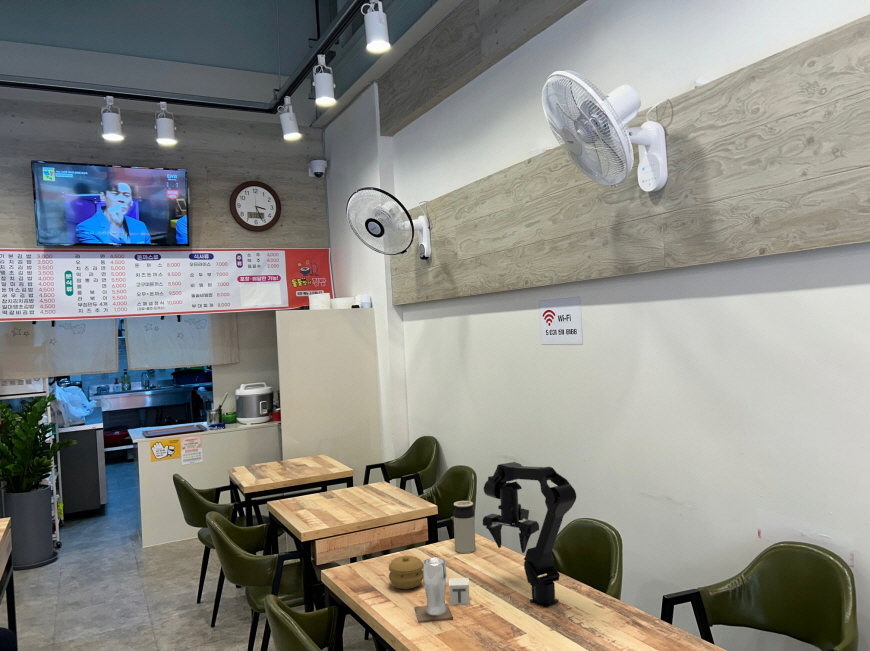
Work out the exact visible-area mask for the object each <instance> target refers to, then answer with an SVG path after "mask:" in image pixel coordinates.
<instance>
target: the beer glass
mask: <svg viewBox="0 0 870 651" xmlns="http://www.w3.org/2000/svg"><path fill="white" fill-rule="evenodd" d="M422 562H423V569H422V571H423V580H422V581H423V585H424V591H425V595H426V606H427V608H426V613H427V615H429V616H442V615H444V614H446V612H447V610H446V605H445V604H446V598H445V597H446V590H447V580H448V579H447V578H448V576H447V574H448V573H447V566H446V565H447V564H446V559H444V558H441V557H428V558H426V559H424V560H423V561H422Z"/></svg>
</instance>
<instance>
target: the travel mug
mask: <svg viewBox="0 0 870 651" xmlns="http://www.w3.org/2000/svg"><path fill="white" fill-rule="evenodd" d="M473 505H474V502H472V501H470V500H459V501H455V502H454V503H453V507H454V510H453V512H452V513H453V514H452V515H453V533H454V535H453V536H454V551H455V552H457V553H459V552H460V553H459V554H470V553H469V552H471V553H474V552H475V551H476V523H475V510H474V508H473Z"/></svg>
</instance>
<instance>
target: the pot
mask: <svg viewBox="0 0 870 651" xmlns="http://www.w3.org/2000/svg"><path fill="white" fill-rule="evenodd" d="M388 570H389V573H388V579H389V581H390V582H391V584H392V585H393V586H394V587H395V588H398V589H401V590H409V589H414V588H417V587H418V586H419V585H420V584H421V583H422V581H423V561H422V560H421V558H418V557H417V556H414V555H413V556H412V555H402V556H401V555H400V556H397V557H395V558H394V559H393V560H391V561H390V563H389V564H388Z"/></svg>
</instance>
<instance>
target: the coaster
mask: <svg viewBox="0 0 870 651" xmlns="http://www.w3.org/2000/svg"><path fill="white" fill-rule="evenodd" d="M445 605H446V610H447V612H446V614H444V615H442V616H429V615H427V613H426V608H427V605H422V606H421V605H420V606H414V611H415V614H417V615H416V618H417V621H418V623H419V624H421V623H431V622H430V621H433V622H441V620H442V621H450V620H454V616H453V613H452V611H451V609H450V607H449V604H448V603H445Z"/></svg>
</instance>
